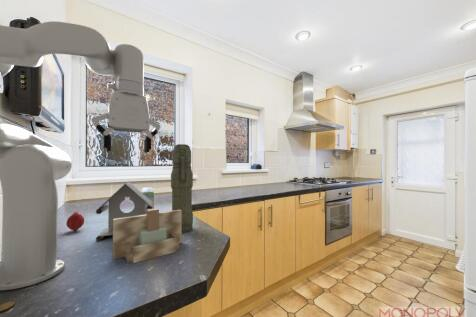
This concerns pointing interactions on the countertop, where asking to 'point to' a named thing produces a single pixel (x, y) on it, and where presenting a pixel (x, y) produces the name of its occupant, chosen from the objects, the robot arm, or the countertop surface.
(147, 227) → the green and brown block
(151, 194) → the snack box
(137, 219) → the wooden box
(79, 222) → the onion
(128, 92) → the robot arm
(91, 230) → the countertop surface
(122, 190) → the grey nesting box
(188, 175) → the green carved statue
